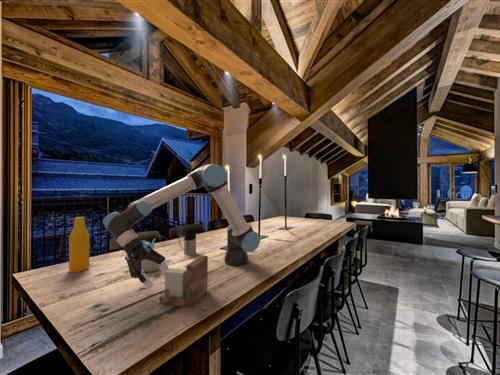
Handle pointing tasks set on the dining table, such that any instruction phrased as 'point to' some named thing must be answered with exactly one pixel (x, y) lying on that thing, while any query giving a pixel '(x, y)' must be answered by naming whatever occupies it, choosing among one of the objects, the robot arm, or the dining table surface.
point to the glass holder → (189, 243)
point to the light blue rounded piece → (148, 244)
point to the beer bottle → (79, 247)
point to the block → (175, 283)
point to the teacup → (149, 265)
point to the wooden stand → (192, 284)
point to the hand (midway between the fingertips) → (161, 280)
